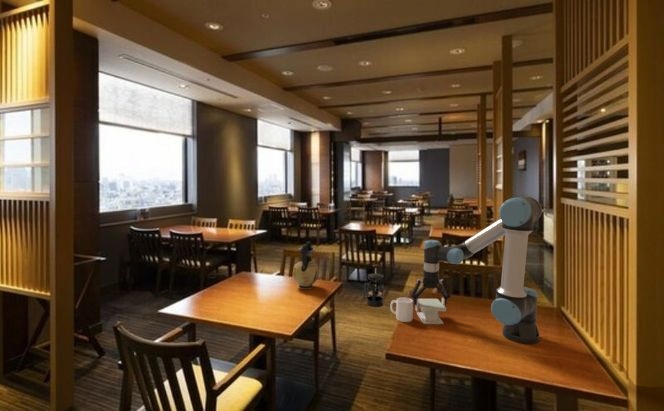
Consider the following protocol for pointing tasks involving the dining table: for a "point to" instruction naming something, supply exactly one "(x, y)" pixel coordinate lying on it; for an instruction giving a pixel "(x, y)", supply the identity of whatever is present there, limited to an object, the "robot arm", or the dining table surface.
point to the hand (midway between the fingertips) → (429, 310)
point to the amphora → (306, 268)
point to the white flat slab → (431, 305)
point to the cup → (403, 309)
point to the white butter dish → (429, 317)
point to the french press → (374, 290)
